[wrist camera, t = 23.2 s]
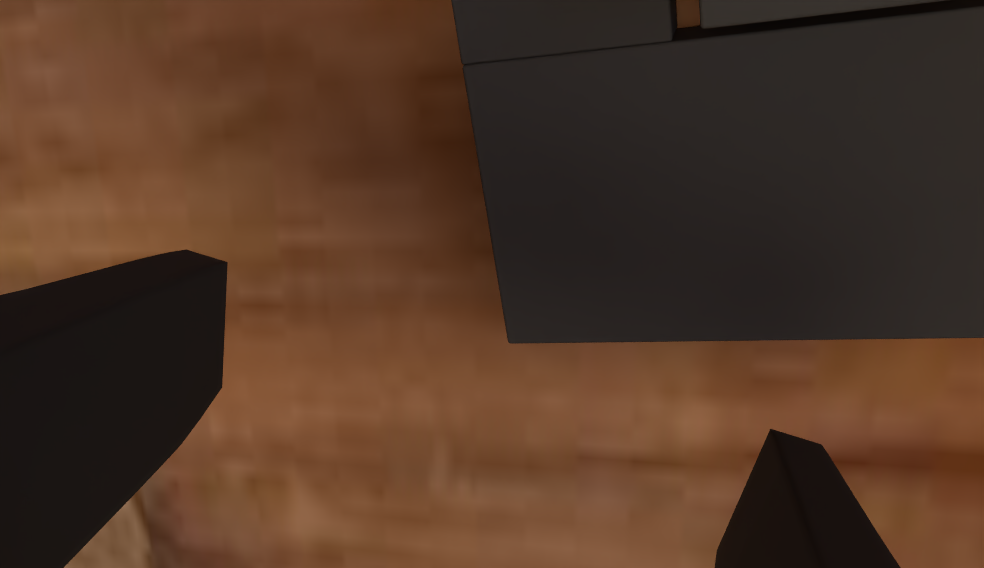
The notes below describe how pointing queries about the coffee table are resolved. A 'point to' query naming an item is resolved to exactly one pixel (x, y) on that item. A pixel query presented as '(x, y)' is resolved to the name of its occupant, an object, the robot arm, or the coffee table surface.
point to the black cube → (783, 9)
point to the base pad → (729, 171)
